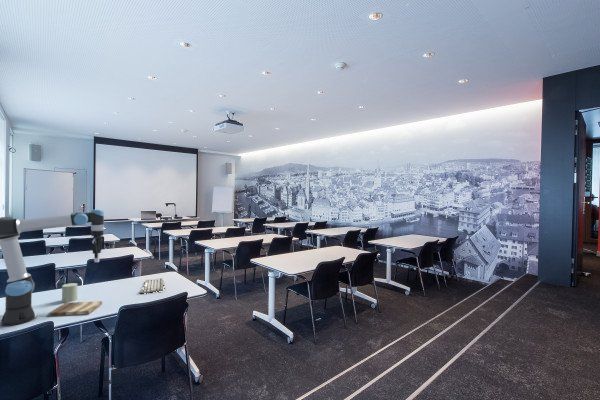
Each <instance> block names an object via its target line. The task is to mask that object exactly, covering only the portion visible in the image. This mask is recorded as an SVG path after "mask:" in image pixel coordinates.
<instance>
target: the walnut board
mask: <svg viewBox="0 0 600 400" xmlns="http://www.w3.org/2000/svg"><path fill="white" fill-rule="evenodd" d="M80 302H81V301H77V302H75V301H72V302H64V303H63V304H61V305H60V306H58V307H56V308H55V309H53V310H51V311H50V312H49V313H48V316H49V317H57V316H59V317H60V316H61V317H62V316H66V315H65V312H66V311H68V310H69V309H71V308H72V307H74V306H75V305H77V304H78V303H80Z"/></svg>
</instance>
